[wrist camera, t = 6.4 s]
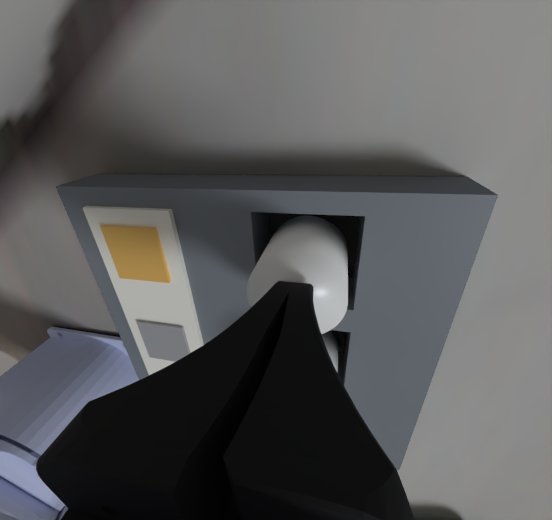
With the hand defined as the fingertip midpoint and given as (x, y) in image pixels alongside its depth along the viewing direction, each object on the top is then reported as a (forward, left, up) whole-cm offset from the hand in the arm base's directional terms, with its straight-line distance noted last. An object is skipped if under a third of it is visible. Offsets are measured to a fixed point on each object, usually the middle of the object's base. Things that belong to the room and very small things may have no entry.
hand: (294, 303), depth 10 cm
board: (-3, -7, -6) cm, 9 cm away
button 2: (0, 0, -4) cm, 4 cm away
